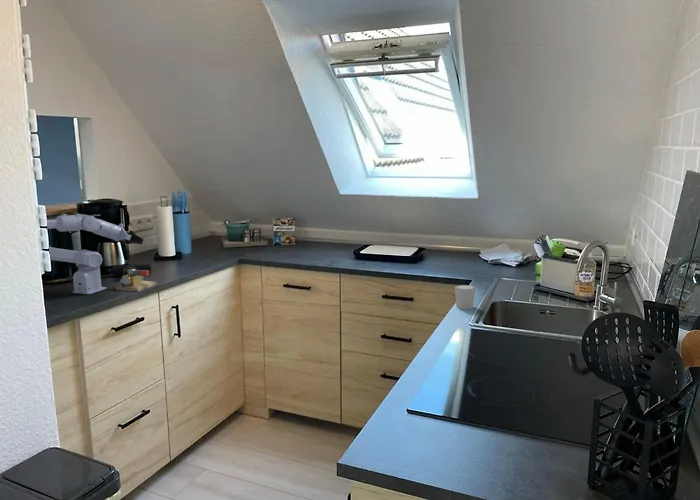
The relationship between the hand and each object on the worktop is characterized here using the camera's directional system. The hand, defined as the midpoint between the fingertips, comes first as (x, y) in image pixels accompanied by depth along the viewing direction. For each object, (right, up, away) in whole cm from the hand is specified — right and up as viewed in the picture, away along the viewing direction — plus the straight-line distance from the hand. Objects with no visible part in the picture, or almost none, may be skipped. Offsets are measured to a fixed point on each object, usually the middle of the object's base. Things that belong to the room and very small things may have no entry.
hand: (137, 239), depth 222 cm
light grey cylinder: (+127, -24, -35) cm, 134 cm away
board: (+2, -19, -7) cm, 20 cm away
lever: (+4, -14, -8) cm, 17 cm away
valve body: (+1, -19, -6) cm, 20 cm away
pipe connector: (-6, -16, +9) cm, 20 cm away
